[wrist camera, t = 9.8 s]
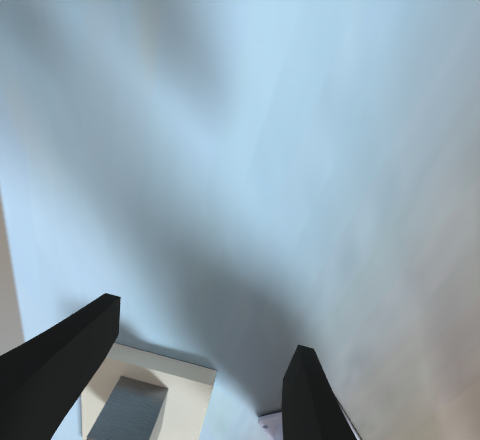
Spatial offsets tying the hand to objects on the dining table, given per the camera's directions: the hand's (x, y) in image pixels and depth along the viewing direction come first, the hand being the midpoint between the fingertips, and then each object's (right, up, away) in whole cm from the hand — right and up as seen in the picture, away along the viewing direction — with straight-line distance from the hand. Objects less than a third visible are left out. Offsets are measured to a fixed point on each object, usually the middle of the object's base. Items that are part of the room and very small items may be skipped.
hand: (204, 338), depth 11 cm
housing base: (-8, -15, +18) cm, 25 cm away
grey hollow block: (-8, -12, +15) cm, 21 cm away
